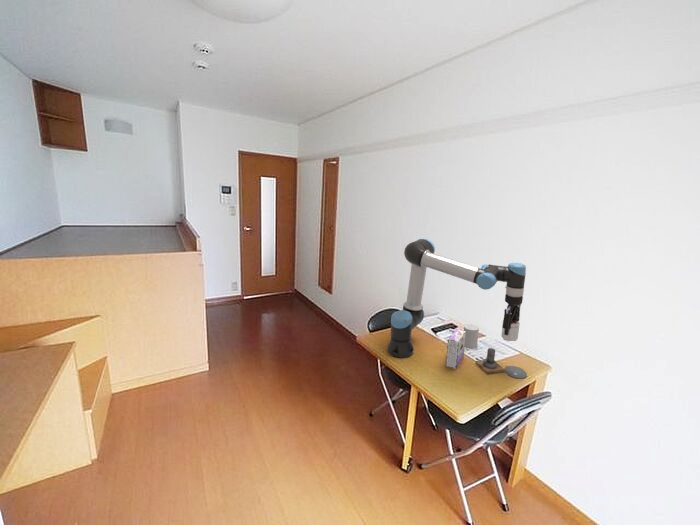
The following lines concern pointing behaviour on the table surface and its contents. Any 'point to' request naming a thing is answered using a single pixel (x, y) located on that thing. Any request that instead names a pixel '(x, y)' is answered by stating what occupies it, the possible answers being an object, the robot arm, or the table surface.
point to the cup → (471, 336)
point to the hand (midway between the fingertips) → (509, 337)
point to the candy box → (455, 348)
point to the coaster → (515, 372)
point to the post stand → (490, 363)
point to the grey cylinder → (513, 330)
